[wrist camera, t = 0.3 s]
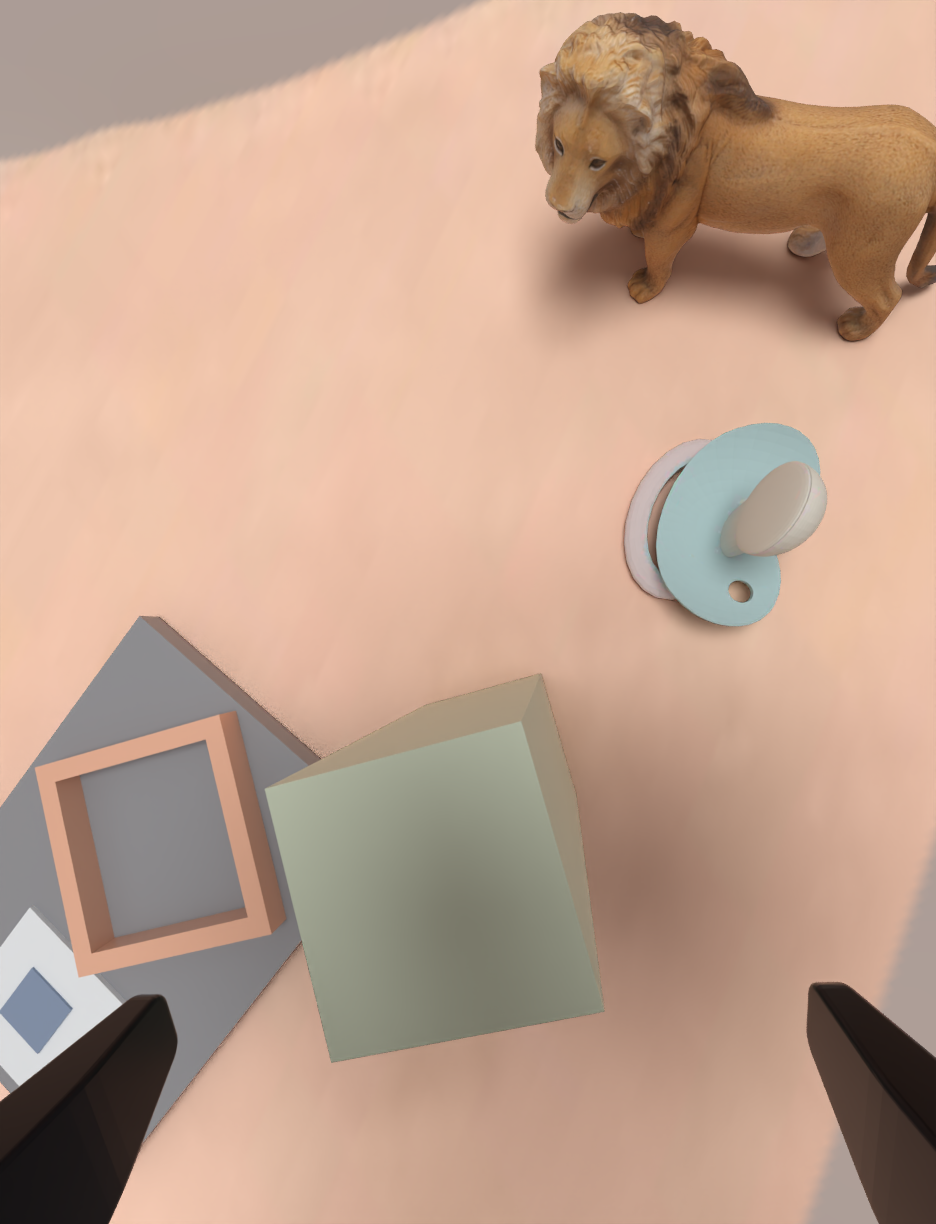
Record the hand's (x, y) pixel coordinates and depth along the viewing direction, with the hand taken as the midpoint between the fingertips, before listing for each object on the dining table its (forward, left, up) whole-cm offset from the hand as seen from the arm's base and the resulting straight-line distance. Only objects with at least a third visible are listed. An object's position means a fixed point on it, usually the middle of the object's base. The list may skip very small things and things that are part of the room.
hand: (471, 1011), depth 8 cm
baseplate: (-15, +10, -15) cm, 23 cm away
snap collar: (-12, +10, -14) cm, 21 cm away
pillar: (0, +1, -15) cm, 15 cm away
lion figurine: (+20, +6, -15) cm, 26 cm away
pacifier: (+12, 0, -15) cm, 19 cm away
